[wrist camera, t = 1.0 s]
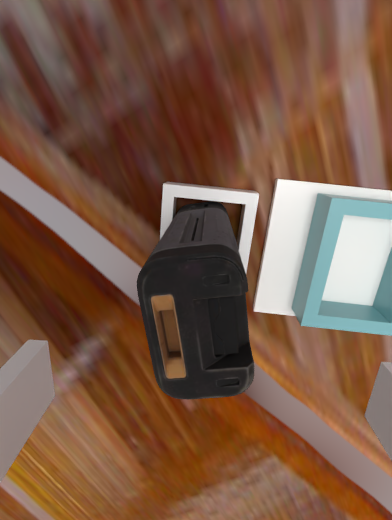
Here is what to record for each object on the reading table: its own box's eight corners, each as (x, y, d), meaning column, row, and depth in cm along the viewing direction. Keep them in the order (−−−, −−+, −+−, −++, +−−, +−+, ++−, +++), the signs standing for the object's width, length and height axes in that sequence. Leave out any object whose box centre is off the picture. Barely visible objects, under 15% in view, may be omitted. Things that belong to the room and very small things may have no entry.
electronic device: (233, 275, 36) (257, 400, 18) (185, 279, 37) (159, 406, 18) (226, 199, 33) (246, 250, 15) (174, 205, 34) (128, 263, 15)
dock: (252, 307, 38) (258, 328, 33) (275, 178, 32) (286, 181, 28) (409, 324, 37) (438, 348, 33) (458, 197, 32) (501, 204, 27)
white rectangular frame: (160, 286, 37) (156, 296, 35) (167, 181, 33) (163, 183, 30) (238, 294, 37) (240, 306, 34) (255, 190, 33) (259, 193, 30)
